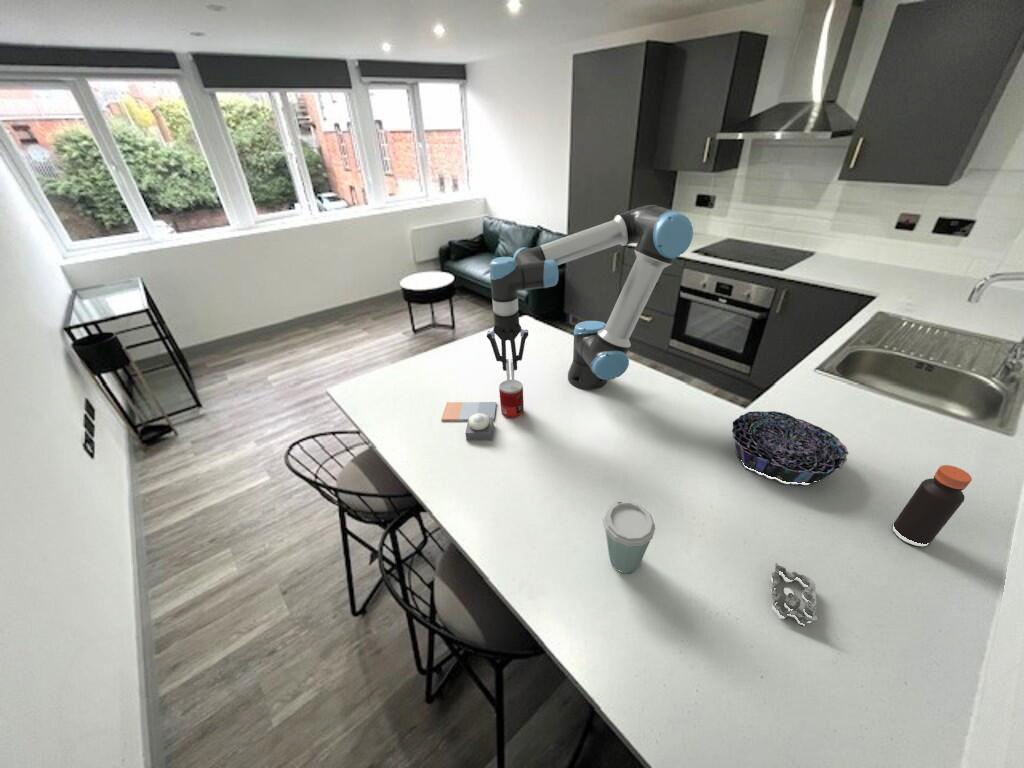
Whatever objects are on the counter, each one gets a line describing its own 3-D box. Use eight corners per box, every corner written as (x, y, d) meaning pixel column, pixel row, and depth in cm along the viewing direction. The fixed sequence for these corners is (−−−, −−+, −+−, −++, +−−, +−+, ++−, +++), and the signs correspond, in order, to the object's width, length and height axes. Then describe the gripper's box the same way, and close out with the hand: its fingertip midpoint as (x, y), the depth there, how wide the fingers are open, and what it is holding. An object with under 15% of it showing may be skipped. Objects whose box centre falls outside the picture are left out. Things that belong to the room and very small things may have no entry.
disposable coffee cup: (657, 575, 90) (667, 530, 82) (612, 589, 88) (619, 545, 80) (631, 536, 99) (639, 492, 91) (590, 548, 97) (594, 505, 89)
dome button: (490, 423, 137) (489, 410, 134) (488, 436, 131) (487, 422, 128) (471, 423, 137) (469, 410, 134) (468, 436, 132) (467, 422, 129)
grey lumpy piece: (768, 571, 90) (774, 559, 88) (809, 586, 87) (816, 574, 85) (767, 615, 83) (773, 603, 80) (812, 633, 79) (819, 621, 77)
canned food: (521, 419, 139) (520, 392, 134) (498, 417, 141) (496, 390, 135) (525, 406, 146) (524, 380, 140) (503, 404, 147) (501, 378, 141)
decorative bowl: (737, 426, 134) (742, 400, 129) (842, 453, 119) (853, 425, 114) (716, 473, 118) (721, 445, 113) (835, 512, 102) (847, 482, 97)
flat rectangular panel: (496, 403, 148) (496, 401, 148) (494, 420, 140) (493, 419, 139) (446, 404, 149) (446, 402, 149) (441, 421, 141) (441, 419, 140)
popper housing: (493, 424, 138) (492, 417, 136) (491, 440, 131) (490, 432, 130) (469, 424, 138) (468, 417, 137) (466, 440, 132) (465, 433, 130)
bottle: (883, 523, 99) (925, 461, 88) (913, 523, 98) (958, 461, 88) (905, 548, 93) (952, 485, 82) (937, 548, 93) (988, 485, 82)
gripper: (529, 305, 125) (531, 371, 138) (484, 307, 126) (490, 372, 139) (529, 315, 119) (531, 383, 132) (481, 317, 120) (488, 385, 133)
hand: (510, 378), depth 136 cm, fingers closed
